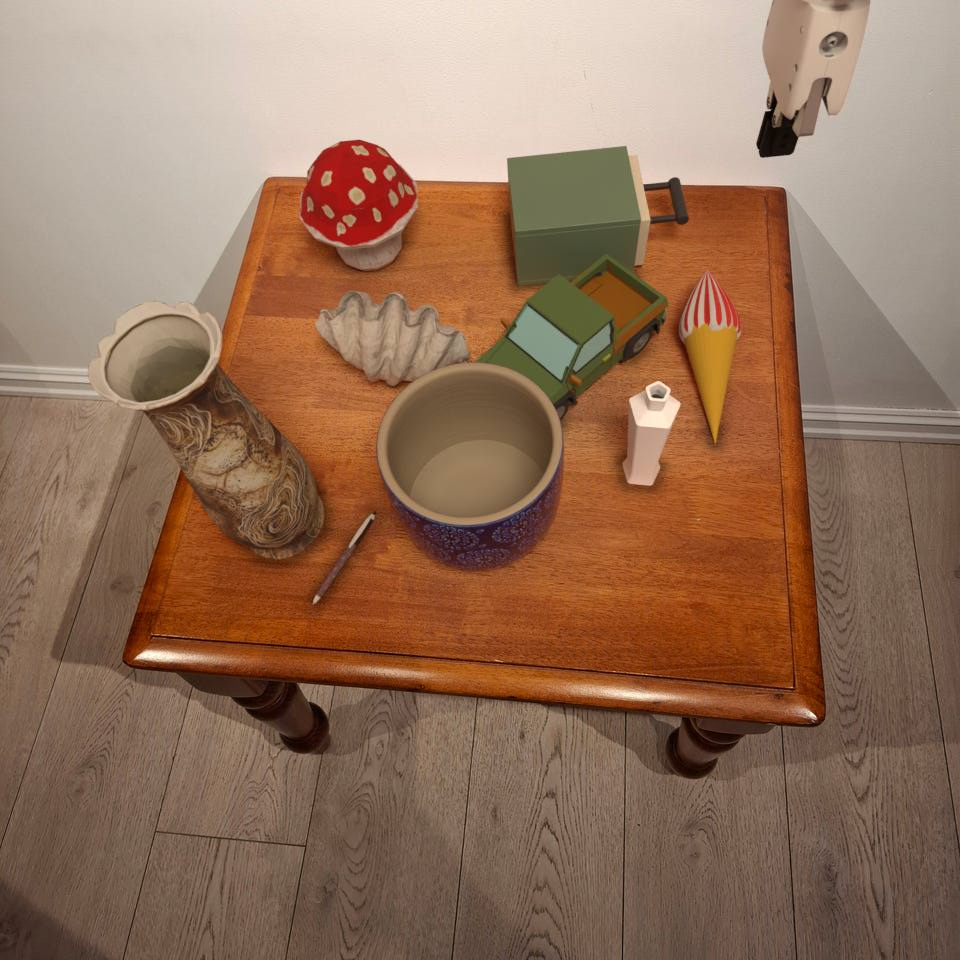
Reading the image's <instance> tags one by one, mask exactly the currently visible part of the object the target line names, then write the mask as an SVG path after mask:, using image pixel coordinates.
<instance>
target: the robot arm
mask: <svg viewBox="0 0 960 960" xmlns="http://www.w3.org/2000/svg"><path fill="white" fill-rule="evenodd" d="M870 7H871V0H772V3H771V5H770V8H769V12H768V17H767V20H766V24H765V28H764V34H763V38H762V45H761V46H762V47H761V49H762V58H763V62H764V65H765V69H766V72H767V75H768V78H769V86H768V91H767V95H766V104H765V105H766V109H767V110H765V111H764V113H763V116H762V117H763V118H762V121H761V125H760V129H759V132H758V135H757V139H756V142H755V146H756V149H757V150H758V154H759V157H760V158H761V159H765V158H774V157H784V156H785V157H786V156H791V155H793V154H794V152H795V150H796V146H797V144H798V141H799V138H801V137H802V138H803V137H809V136H810V137H812V136H814V133H815V129H816V124H817V121H818V116H819V111H820V107H821V103H822V102H823V104H824V107H825V110H826V112H827V116H837V115H838V114H839V113H840V112H841V111H842V108H843V106H844V103H845V100H846V98H847V94H848V93H849V88H850V86H851V83H852V79H853V76H854V74H855V73H854V72H855V70H856V67H857V63H858V60H859V56H860V53H861V49H862V45H863V41H864V39H865V37H864V36H865V33H866V28H867V23H868V19H869V18H868V17H869V13H870Z"/></svg>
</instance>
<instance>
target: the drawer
mask: <svg viewBox="0 0 960 960" xmlns="http://www.w3.org/2000/svg"><path fill="white" fill-rule="evenodd" d="M628 156H629V161H630V166H631V171H632V176H633V181H634V186H635V191H636V196H637V201H638V205H639V210H640V215H641V224H640V231H639V238H638V245H637V252H636V259H635V267H636V266H644V265H645V259H646V252H647V245H648V241H649V240H648V238H649V232H650V226H651V225H655V224H664V223H667V224H668V223H676V224H677V225H680V226H683V225H686V224H687V223H688V222H689V220H690V217H689V213H688V208H687V204H686V200H685V196H684V191H683V188H682V183H681V179H680V178H679V177H677V176H675V177H672V178H670V179H669V180H668V181H664V182H663V181H661V182H654V183H644V182H643V177H642V173H641V167H640V163H639V158H638V157H639V156H638V155H637V154H632V155H631V154H630V155H628ZM662 190H663V191H664V190H668V192H669V195H670V200H671V205H672V209H673V213H674V214H665V215H655V216H651V215H650V211H649V206H648V205H649V204H648V201H647V196H646V192H653V191H662Z"/></svg>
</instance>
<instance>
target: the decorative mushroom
mask: <svg viewBox="0 0 960 960" xmlns="http://www.w3.org/2000/svg"><path fill="white" fill-rule="evenodd" d="M299 197H300V198H299V217H298V218H299V220H300V221H301V222H302V224H303V225H304V226H305V227H306V230H308V231H309V233H310V234H311V235H312V237H313V238H314V239H315V240H316V241H318V242H320V243H324V244H325V245H329V246H331V247H334V248H336V252H337V254H338V255H339V256H340V258H341V259H342V261H344V263H345V264H346V265H348V266H349V267H352V268H354V269H357V270H360V271H362V272H374V271H380V270H382V269H384V268H386V267H387V266H389V265H391V264H392V262H394V260H395V259H396V257H397V256H398V254H399V252H400V251H401V250H402V248H403V234H402V233H403V231H404V230H405V228H406V227H407V226H408V224H409V222H410V221H411V220H412V219H413V217H414V215H415V214H416V212H417V210H418V208H419V204H418V203H419V202H418V201H419V200H418V183H417V181H416V180H415V179H414V178H413V177H412V176H411V175H410V174H409V172H407V170H406V169H405V168H404V167H403V166H402V164H400V163H398V162H397V161H396V160H395V159H394V158H393V156H392V155H391V154H390V153H389V151H387V149H386V148H384V147H382V146H380V145H378V144H375V143H372V142H369V141H365V140H362V139H351V140H340V141H337V142H336V143H334V144H332V145H330V146H328V147H326V148H324V149H322V150H321V152H320V154H318V156H317V157H316V159H315V160H314V161H313V162H312V164H310V166H309V168H308V170H307V173H306V184H305V187H304V188H303V190H302V191H301V193H300V196H299Z"/></svg>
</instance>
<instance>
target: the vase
mask: <svg viewBox="0 0 960 960" xmlns="http://www.w3.org/2000/svg"><path fill="white" fill-rule="evenodd" d="M96 346H97V350H98V356H99V357H97V358H95V359H92V360H90V362H89V363H88V365H87V377H88V380H89V383H90V386H91V387H92V389H94V391H95V392H96V393H97V394H98V395H99V396H100V397H102V398H104V399H106V400H108V401H110V402H112V403H114V404H116V405H117V406H118V408H120V409H126V410H131V411H132V410H133V411H140V412H141V411H142V412H143V414H144V415H145V416H146V417H147V418H148V420H149V421H150V422H151V424H152V425H153V427H154V428H155V429H156V431H157V432H158V434H159V436H160V437H161V439H162V440H163V441H164V443H165V445H166V447H168V449H169V451H170V453H171V454H172V456H173V458H174V460H175V462H176V463H177V464H178V466H179V468H180V470H181V471H182V473H183V475H184V476H185V478H186V480H187V482H188V483H189V485H190V487H191V489H192V490H193V492H194V494H195V496H196V497H197V499H198V501H199V503H200V504H201V506H202V507H203V509H204V511H205V513H206V514H207V516H209V518H210V519H211V521H212V522H213V523H214V524H215V525H216V527H218V529H219V530H220V531H222V533H224V534H225V535H226V536H227V537H229V538H230V539H231V540H233V541H234V542H236V543H238V544H240V545H242V546H244V547H246V548H249V550H251V551H252V552H254V554H257V555H259V556H260V557H263V558H266V559H269V560H270V559H271V560H284V559H290V558H291V557H292V558H293V557H295V556H297V555H299V554H300V553H303V552H304V551H305V550H306V549H308V548H309V547H310V546H311V544H313V542H314V541H315V540H316V539H317V538H318V536H319V534H320V533H321V530H322V528H323V526H324V520H325V517H326V516H325V508H324V507H325V506H324V503H323V501H322V499H321V497H320V496H319V494H318V489H317V488H318V487H317V484H316V479H315V476H314V474H313V472H312V470H311V468H310V466H309V464H308V463H307V461H306V460H305V458H304V457H303V455H302V454H301V452H300V451H299V450H298V448H297V447H296V446H295V445H294V444H293V443H292V442H291V440H289V439H288V438H287V437H286V435H284V434H283V432H281V430H279V429H278V427H277V426H275V424H273V422H272V421H271V420H269V418H268V417H266V415H265V414H264V413H263V412H262V411H260V409H259V408H258V407H256V405H255V404H254V403H253V402H252V401H251V400H250V399H249V398H248V397H247V396H246V395H245V394H244V392H242V390H241V389H240V388H239V387H238V386H237V385H236V383H234V382H233V380H232V379H231V378H230V377H229V376H228V375H227V373H226V372H225V371H224V370H223V368H221V366H220V365H219V361H220V356H221V353H222V348H223V332H222V327H221V325H220V323H219V321H218V320H217V318H216V317H215V316H214V315H213V313H211V312H209V311H205V312H200V311H199V309H197V308H196V306H195V305H194V304H193V303H192V302H190V301H187V300H186V301H180V302H179V303H178V304H177V305H176V306H171V305H169V304H168V303H166V302H163V301H159V300H152V301H148V302H144V303H140V304H139V305H136V306H134V307H132V308H130V309H128V310H126V311H125V312H124V313H122V315H120V317H118V318H117V320H116V321H115V323H114V328H113V333H112V334H109V335H106V336H103V337H102V338H101V340H99V342H98V343H97V345H96Z"/></svg>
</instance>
